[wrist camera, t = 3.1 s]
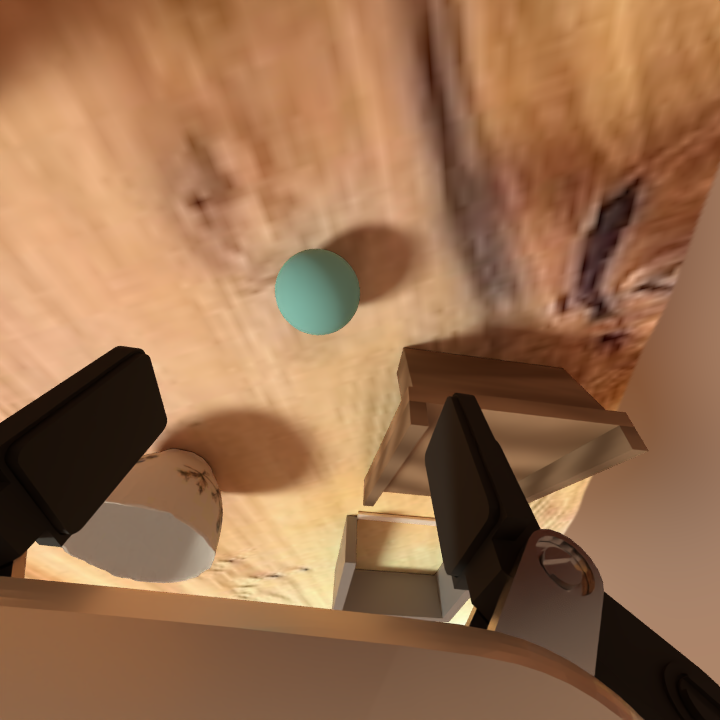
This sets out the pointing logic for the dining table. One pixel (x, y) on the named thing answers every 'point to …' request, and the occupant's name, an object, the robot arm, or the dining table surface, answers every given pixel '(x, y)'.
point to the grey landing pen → (392, 582)
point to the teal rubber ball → (317, 291)
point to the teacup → (156, 521)
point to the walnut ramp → (501, 424)
